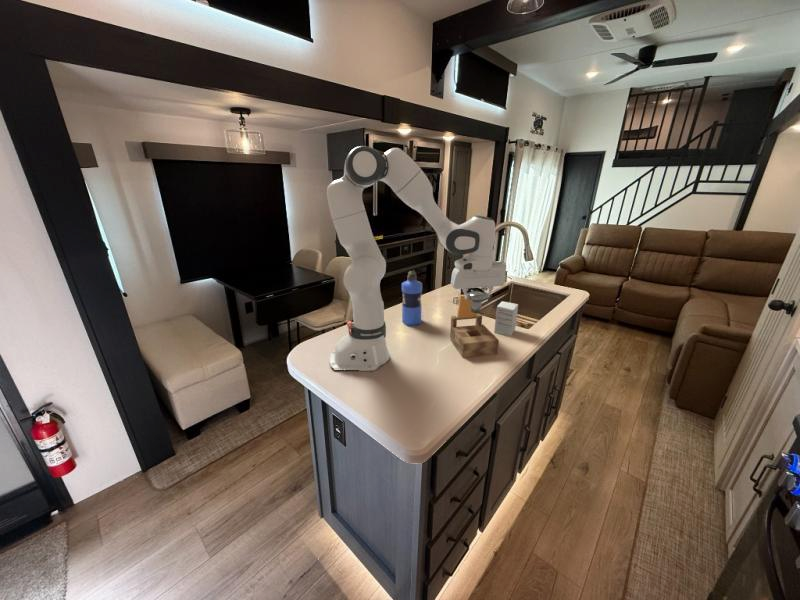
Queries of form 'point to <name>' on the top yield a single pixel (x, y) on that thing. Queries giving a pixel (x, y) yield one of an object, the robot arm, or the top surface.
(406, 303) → the water bottle
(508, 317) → the supplement box
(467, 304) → the orange rectangular panel
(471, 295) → the grey light bulb
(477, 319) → the block
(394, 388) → the top surface
